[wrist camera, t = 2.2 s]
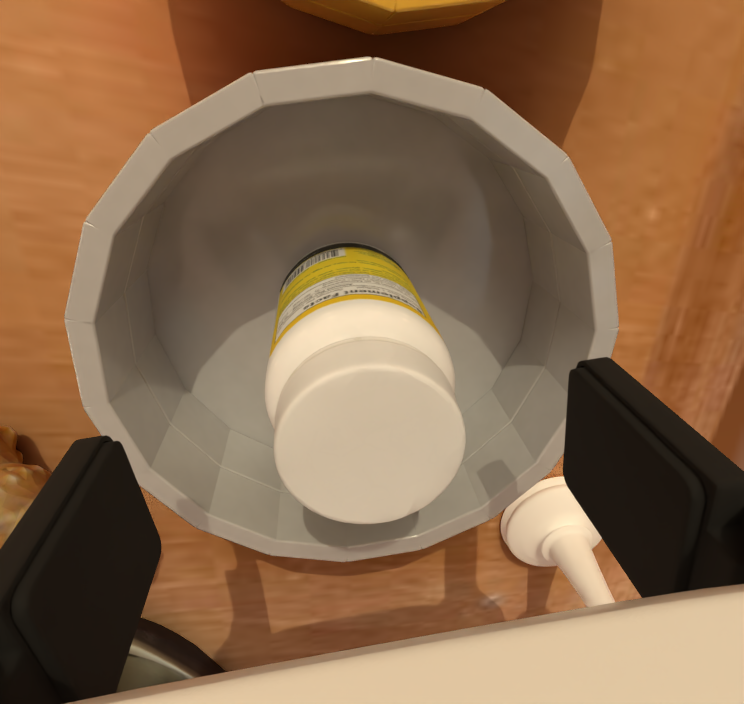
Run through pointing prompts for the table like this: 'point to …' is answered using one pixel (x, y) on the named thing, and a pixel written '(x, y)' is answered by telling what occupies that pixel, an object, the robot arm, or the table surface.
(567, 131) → the table surface
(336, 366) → the supplement bottle
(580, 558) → the chess piece
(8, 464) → the seashell
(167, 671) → the salad plate
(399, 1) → the yellow bowl
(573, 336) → the gray round dish
